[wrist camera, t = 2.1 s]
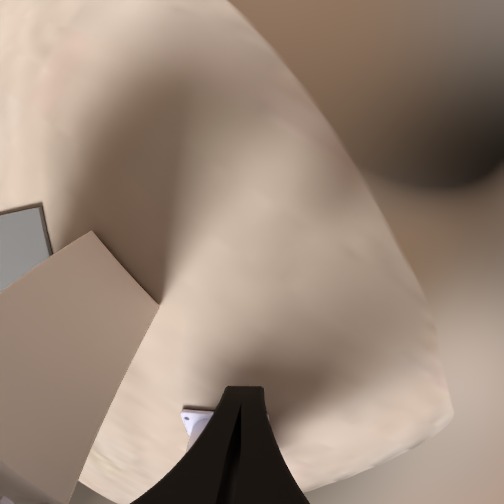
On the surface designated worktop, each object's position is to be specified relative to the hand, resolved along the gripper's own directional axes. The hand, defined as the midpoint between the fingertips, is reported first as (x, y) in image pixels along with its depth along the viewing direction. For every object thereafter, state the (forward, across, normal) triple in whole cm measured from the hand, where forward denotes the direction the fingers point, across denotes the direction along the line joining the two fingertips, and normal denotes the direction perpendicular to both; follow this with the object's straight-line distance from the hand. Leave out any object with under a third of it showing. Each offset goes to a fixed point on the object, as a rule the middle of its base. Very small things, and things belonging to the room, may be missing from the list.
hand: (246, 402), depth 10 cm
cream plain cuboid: (+9, +12, 0) cm, 15 cm away
